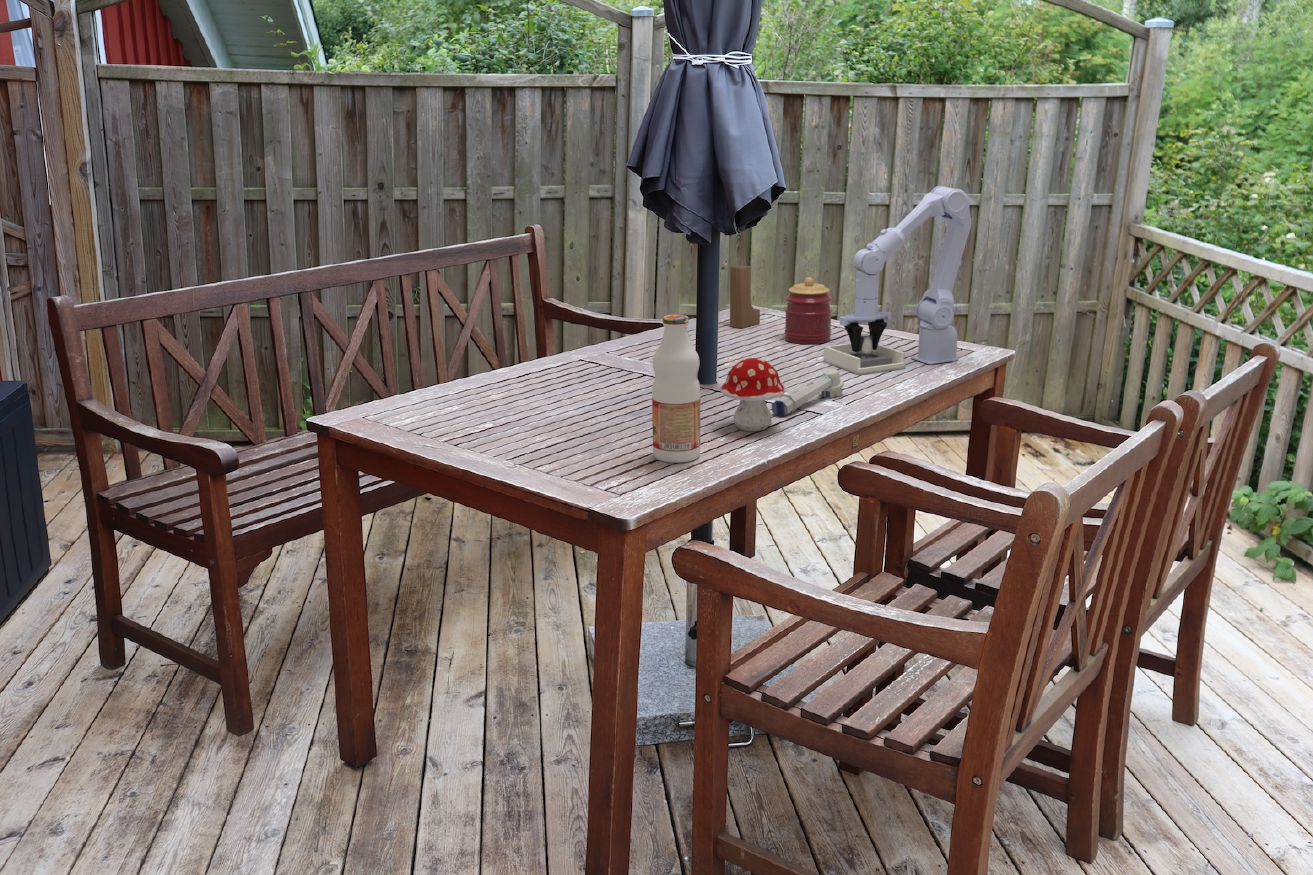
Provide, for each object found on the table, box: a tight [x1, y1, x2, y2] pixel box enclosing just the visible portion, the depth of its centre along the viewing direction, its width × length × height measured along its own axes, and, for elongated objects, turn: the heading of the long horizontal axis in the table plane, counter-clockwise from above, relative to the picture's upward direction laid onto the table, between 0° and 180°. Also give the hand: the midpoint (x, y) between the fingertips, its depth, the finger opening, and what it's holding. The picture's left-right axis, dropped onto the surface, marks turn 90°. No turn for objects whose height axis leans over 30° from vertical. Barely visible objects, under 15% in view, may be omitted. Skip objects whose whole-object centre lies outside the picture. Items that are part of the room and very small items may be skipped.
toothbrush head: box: [771, 368, 845, 418], centre depth 266 cm, size 5×7×25 cm
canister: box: [784, 276, 833, 345], centre depth 327 cm, size 13×13×18 cm
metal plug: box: [856, 334, 873, 359], centre depth 300 cm, size 4×4×7 cm
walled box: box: [823, 342, 906, 376], centre depth 300 cm, size 14×16×4 cm
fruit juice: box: [651, 313, 701, 464], centre depth 228 cm, size 9×9×28 cm
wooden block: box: [729, 264, 761, 329], centre depth 346 cm, size 9×4×18 cm, turn 137°
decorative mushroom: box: [719, 357, 787, 432], centre depth 248 cm, size 14×14×15 cm
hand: (864, 350), depth 299 cm, fingers open, 5 cm apart
